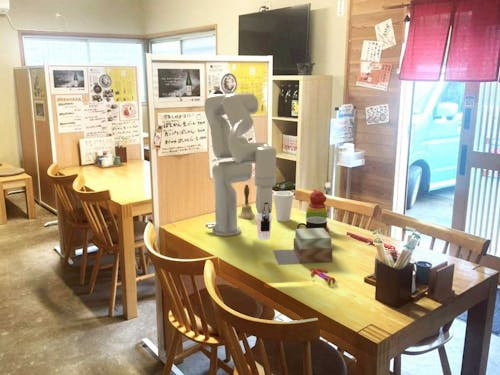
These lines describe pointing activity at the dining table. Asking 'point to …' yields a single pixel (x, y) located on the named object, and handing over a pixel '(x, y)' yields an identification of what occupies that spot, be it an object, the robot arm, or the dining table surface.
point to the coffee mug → (315, 223)
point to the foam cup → (283, 205)
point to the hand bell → (246, 206)
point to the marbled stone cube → (312, 245)
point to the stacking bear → (317, 206)
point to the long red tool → (368, 240)
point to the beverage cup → (261, 234)
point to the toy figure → (322, 275)
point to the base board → (289, 257)
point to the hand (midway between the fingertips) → (263, 227)
